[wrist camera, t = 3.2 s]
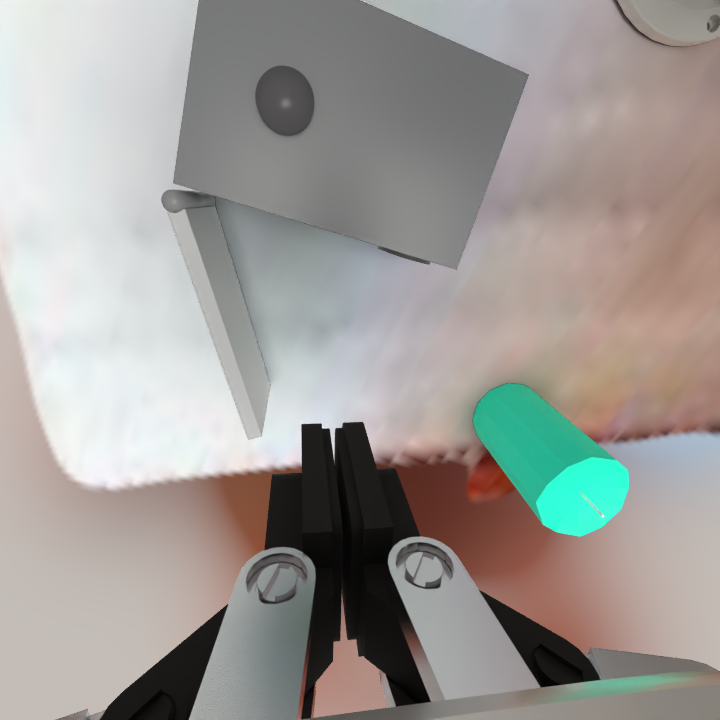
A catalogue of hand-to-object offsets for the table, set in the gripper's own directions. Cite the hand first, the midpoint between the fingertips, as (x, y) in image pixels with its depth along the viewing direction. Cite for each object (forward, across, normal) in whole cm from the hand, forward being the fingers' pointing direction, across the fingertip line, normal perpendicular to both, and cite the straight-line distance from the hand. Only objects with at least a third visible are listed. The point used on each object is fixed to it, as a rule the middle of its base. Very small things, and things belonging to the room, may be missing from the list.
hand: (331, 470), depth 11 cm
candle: (+20, -16, +9) cm, 27 cm away
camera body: (+19, -2, -10) cm, 22 cm away
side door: (+19, +5, -1) cm, 20 cm away
